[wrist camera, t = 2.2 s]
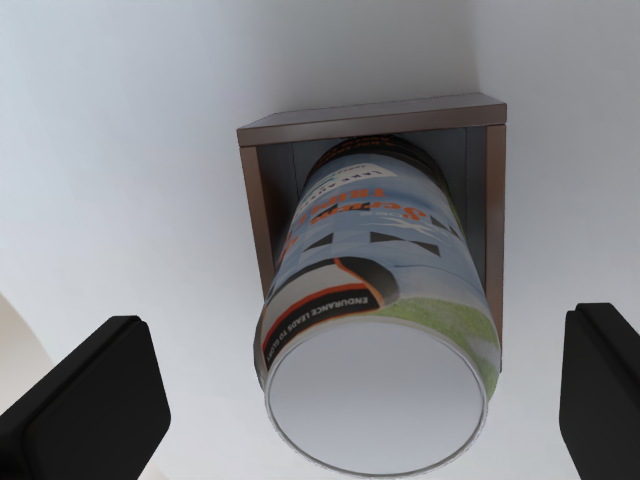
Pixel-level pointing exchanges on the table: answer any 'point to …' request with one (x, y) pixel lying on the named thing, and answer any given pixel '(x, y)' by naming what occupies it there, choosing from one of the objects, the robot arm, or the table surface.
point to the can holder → (377, 119)
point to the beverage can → (377, 319)
